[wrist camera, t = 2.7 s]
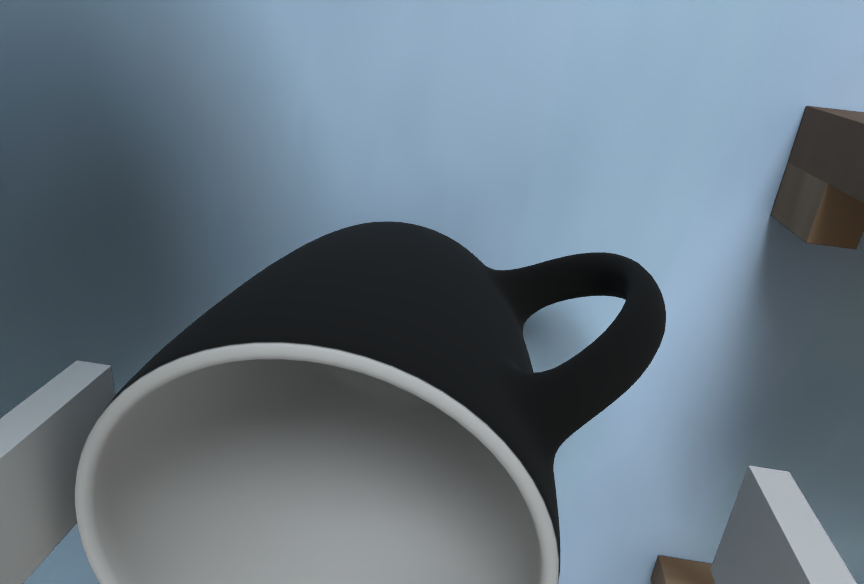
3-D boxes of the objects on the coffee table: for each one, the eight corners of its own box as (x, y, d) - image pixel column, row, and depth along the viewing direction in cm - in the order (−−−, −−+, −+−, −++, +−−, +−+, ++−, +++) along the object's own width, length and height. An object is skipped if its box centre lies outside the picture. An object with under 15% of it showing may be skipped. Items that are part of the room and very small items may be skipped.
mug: (356, 465, 23) (253, 762, 14) (212, 260, 21) (-32, 459, 11) (677, 339, 20) (821, 622, 11) (554, 72, 17) (603, 140, 8)
